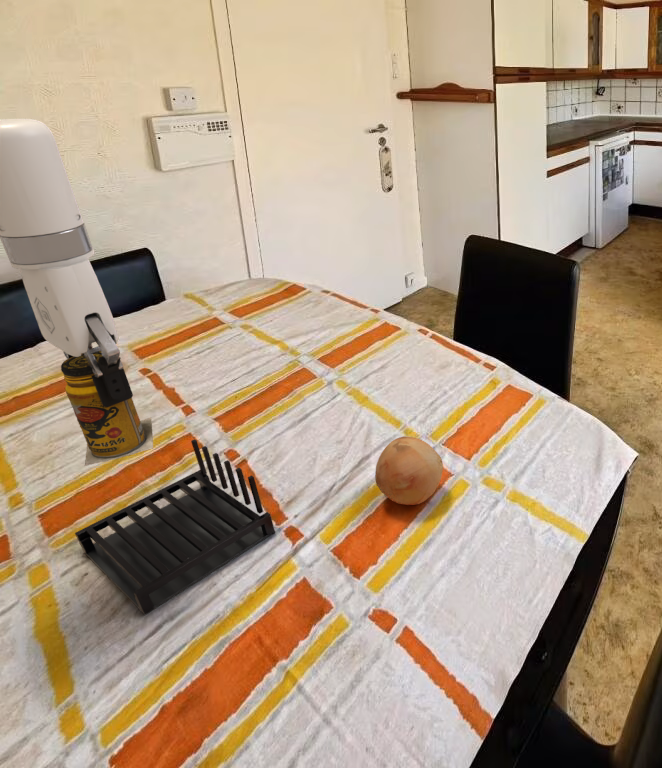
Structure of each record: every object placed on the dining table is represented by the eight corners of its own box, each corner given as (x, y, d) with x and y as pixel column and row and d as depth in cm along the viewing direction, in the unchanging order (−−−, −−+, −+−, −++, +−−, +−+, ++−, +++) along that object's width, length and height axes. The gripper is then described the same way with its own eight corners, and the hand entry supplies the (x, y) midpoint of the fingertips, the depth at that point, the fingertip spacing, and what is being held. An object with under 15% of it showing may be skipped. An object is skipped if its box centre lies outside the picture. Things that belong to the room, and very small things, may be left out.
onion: (456, 503, 92) (451, 447, 87) (392, 527, 88) (383, 469, 83) (430, 470, 99) (425, 417, 95) (370, 490, 95) (361, 436, 90)
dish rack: (144, 615, 75) (119, 557, 71) (83, 551, 85) (57, 497, 80) (275, 532, 87) (261, 478, 83) (208, 485, 97) (192, 435, 93)
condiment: (84, 467, 73) (47, 377, 68) (88, 434, 80) (55, 349, 74) (153, 450, 76) (123, 362, 71) (152, 419, 83) (124, 336, 77)
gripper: (-20, 241, 68) (43, 386, 77) (40, 269, 59) (104, 430, 67) (56, 227, 73) (107, 363, 82) (122, 250, 64) (172, 401, 72)
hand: (105, 392), depth 74 cm, fingers closed on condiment, 6 cm apart
